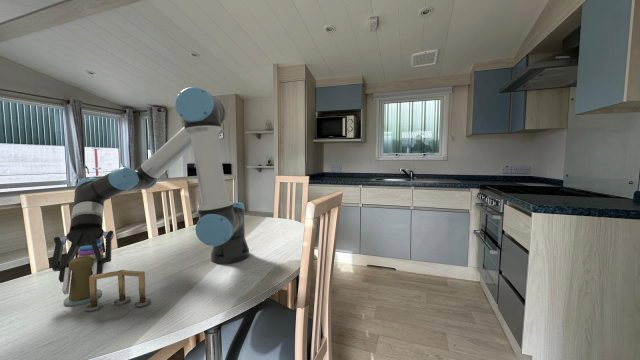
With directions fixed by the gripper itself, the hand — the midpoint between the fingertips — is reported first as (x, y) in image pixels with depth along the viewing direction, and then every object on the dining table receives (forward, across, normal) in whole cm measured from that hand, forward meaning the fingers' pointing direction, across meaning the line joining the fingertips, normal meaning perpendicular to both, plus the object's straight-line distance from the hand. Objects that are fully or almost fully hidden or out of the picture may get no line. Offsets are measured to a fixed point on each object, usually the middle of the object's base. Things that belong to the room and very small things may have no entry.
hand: (80, 288), depth 68 cm
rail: (+8, -9, +2) cm, 12 cm away
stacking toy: (-28, +4, -34) cm, 45 cm away
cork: (0, 0, -5) cm, 5 cm away
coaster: (0, 0, -6) cm, 6 cm away
